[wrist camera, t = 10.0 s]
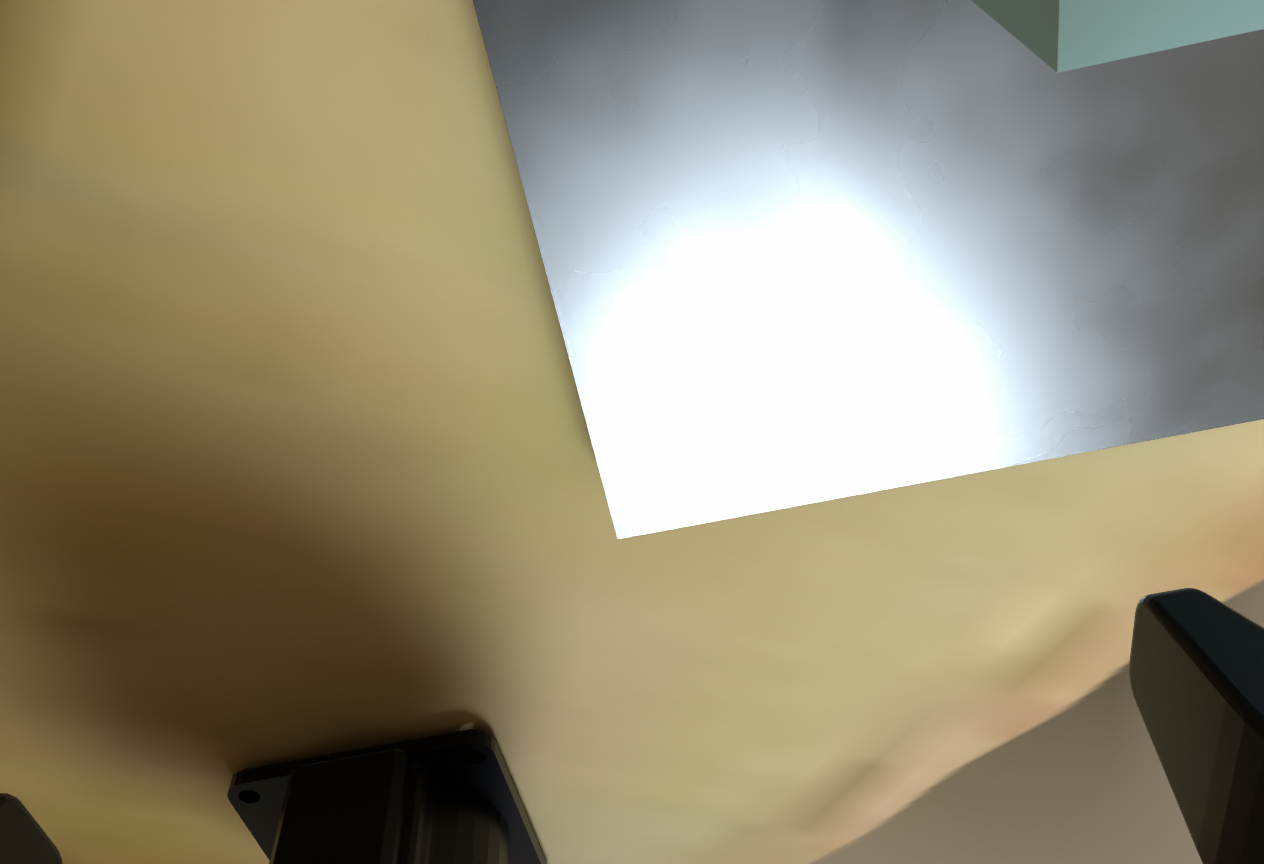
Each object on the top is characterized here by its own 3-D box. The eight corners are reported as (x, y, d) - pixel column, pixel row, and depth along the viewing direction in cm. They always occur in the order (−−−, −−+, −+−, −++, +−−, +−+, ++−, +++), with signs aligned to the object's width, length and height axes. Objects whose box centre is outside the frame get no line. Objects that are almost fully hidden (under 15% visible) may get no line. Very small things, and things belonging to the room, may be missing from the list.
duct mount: (1278, 363, 21) (1521, 603, 16) (613, 489, 22) (633, 757, 17) (1529, -1019, 11) (2403, -1617, 6) (304, -695, 12) (108, -964, 7)
